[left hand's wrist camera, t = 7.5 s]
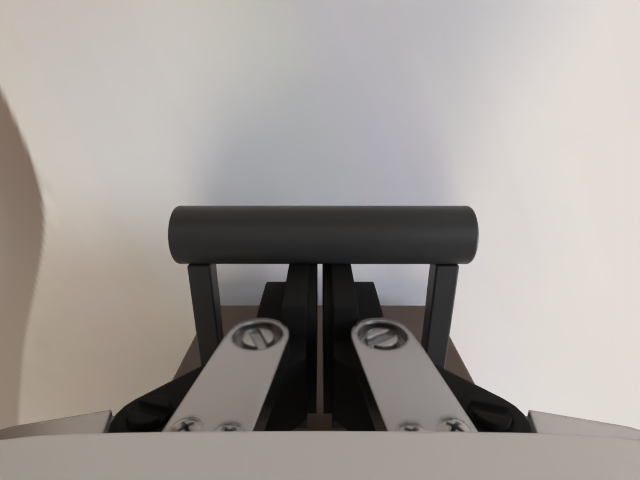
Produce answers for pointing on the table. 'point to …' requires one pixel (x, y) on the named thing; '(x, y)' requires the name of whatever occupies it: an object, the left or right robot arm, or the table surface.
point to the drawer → (324, 248)
